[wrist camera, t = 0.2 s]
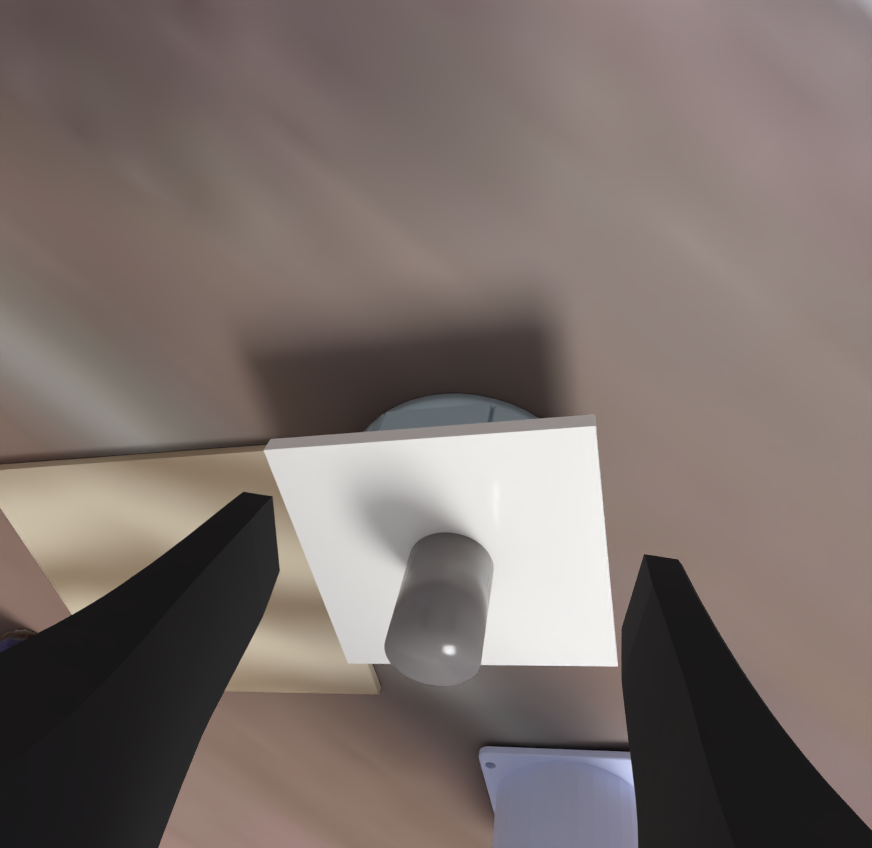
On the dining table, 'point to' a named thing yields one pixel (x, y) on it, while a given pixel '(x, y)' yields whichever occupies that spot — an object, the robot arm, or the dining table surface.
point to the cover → (456, 543)
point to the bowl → (448, 412)
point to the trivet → (160, 531)
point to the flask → (14, 638)
